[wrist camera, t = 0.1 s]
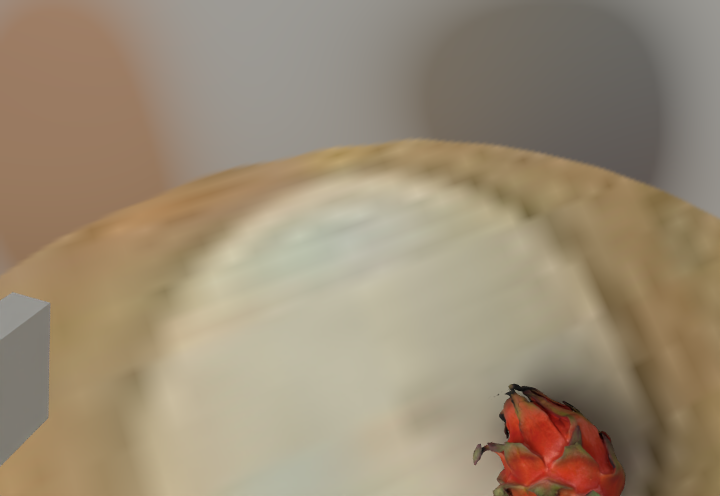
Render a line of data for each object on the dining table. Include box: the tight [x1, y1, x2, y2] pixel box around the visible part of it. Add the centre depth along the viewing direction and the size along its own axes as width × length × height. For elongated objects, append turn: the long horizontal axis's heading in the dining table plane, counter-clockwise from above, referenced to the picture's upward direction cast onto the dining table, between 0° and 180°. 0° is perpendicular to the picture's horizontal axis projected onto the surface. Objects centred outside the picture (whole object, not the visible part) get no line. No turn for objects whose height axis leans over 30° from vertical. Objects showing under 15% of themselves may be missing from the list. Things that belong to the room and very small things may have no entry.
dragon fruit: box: [473, 384, 625, 496], centre depth 43 cm, size 8×8×12 cm
